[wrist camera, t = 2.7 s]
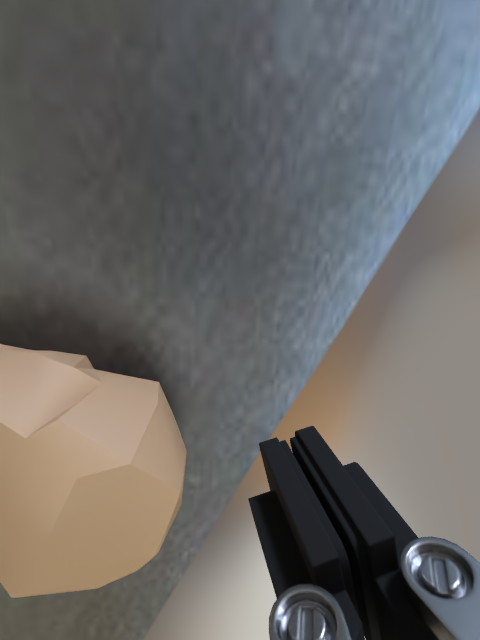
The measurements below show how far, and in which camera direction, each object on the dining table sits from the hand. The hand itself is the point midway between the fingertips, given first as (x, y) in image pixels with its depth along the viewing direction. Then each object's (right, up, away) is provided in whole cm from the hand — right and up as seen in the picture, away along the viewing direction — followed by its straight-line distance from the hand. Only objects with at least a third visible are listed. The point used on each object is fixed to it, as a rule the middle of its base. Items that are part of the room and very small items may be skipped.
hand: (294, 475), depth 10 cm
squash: (-14, 0, +10) cm, 18 cm away
